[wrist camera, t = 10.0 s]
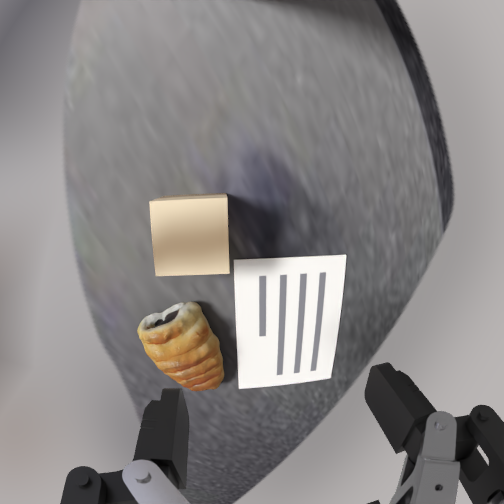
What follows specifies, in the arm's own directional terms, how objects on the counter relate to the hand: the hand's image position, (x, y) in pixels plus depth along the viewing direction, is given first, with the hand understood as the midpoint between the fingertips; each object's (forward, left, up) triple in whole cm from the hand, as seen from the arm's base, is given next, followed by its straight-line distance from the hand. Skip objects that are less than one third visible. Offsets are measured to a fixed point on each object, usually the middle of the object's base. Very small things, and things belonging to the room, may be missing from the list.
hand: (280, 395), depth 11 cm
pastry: (+6, -6, -15) cm, 17 cm away
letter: (+5, +4, -15) cm, 16 cm away
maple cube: (-5, -4, -15) cm, 16 cm away
